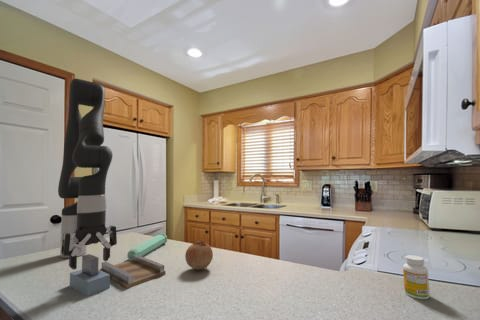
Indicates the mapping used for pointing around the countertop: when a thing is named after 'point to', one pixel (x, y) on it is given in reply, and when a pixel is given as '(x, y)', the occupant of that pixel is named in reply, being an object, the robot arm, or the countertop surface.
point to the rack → (133, 271)
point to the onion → (199, 255)
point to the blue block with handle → (89, 277)
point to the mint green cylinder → (148, 245)
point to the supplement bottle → (416, 278)
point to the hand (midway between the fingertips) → (90, 264)
